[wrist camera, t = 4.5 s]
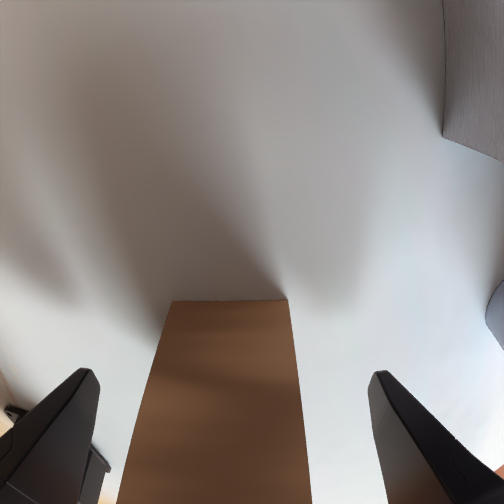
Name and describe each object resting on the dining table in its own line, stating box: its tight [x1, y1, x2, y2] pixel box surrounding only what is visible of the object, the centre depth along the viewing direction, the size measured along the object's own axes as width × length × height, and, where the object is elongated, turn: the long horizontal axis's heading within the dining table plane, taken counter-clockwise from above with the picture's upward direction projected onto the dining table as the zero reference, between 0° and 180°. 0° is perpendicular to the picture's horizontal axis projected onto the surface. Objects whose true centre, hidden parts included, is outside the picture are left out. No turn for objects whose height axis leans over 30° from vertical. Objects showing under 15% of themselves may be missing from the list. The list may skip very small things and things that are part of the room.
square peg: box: [116, 300, 312, 504], centre depth 8 cm, size 4×4×7 cm
